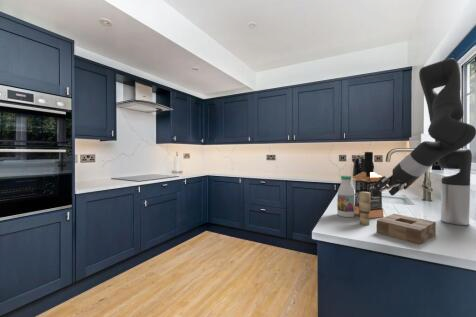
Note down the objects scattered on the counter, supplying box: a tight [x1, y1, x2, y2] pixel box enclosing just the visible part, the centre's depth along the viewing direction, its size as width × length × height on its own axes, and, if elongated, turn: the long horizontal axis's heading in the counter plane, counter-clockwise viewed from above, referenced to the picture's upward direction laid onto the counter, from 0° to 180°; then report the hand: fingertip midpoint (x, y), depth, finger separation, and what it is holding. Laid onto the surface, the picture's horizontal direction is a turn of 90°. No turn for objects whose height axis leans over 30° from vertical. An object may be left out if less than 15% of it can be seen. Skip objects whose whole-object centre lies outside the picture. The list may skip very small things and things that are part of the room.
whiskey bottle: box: [354, 151, 384, 219], centre depth 112 cm, size 10×10×32 cm
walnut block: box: [376, 213, 437, 245], centre depth 87 cm, size 16×14×5 cm
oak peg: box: [359, 192, 371, 226], centre depth 98 cm, size 4×4×14 cm
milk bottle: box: [336, 175, 355, 218], centre depth 111 cm, size 8×8×20 cm
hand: (382, 194), depth 90 cm, fingers open, 8 cm apart
